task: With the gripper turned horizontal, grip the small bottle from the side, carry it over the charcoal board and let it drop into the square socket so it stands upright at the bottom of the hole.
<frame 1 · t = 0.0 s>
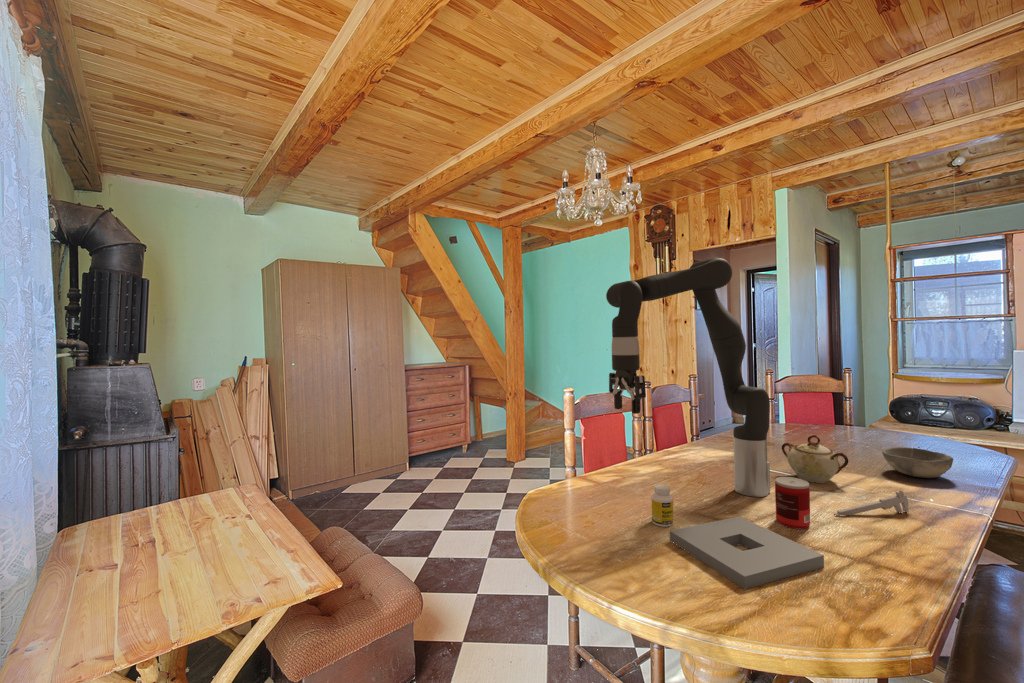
hand: (626, 411, 122), 29 cm above the table, tool pointing down, fingers open, 8 cm apart
bowl: (916, 476, 149), on the table
caliper: (870, 515, 119), on the table
sugar bowl: (813, 479, 148), on the table
supplement bottle: (662, 524, 117), on the table
canned food: (792, 523, 115), on the table
socket board: (741, 553, 100), on the table
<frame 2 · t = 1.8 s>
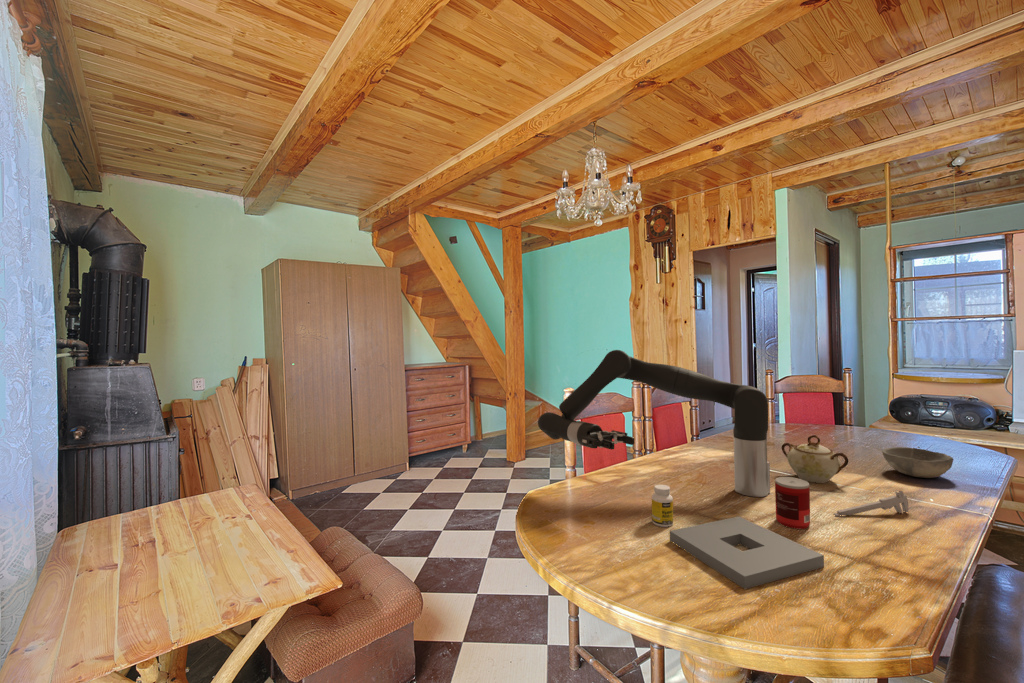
hand: (623, 443, 127), 19 cm above the table, tool horizontal, fingers open, 8 cm apart
nothing on the table moved.
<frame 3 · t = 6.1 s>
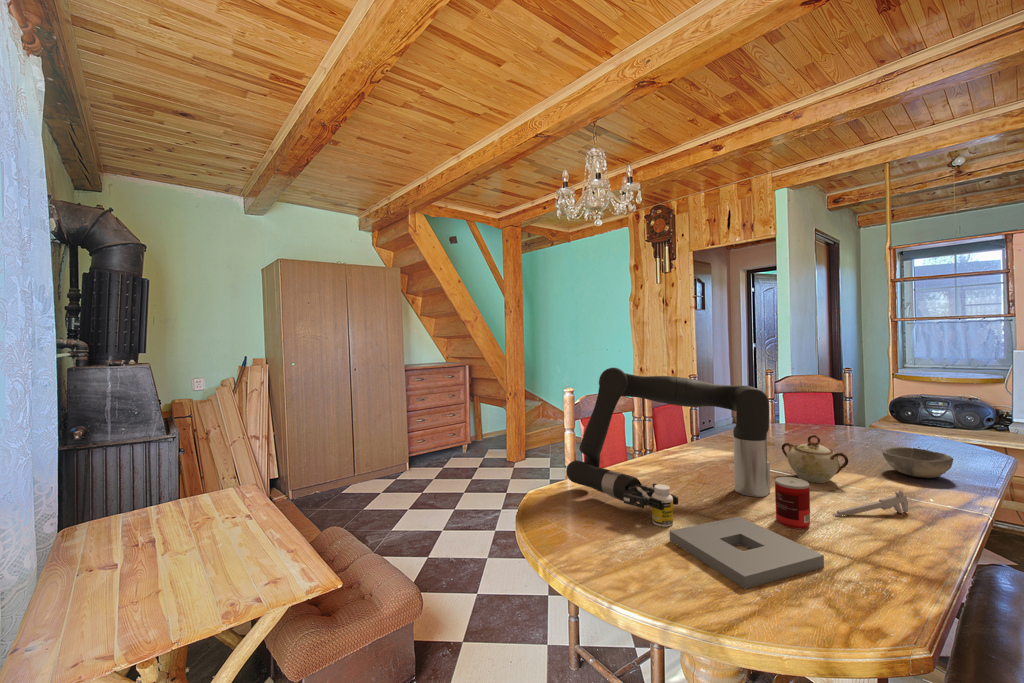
hand: (670, 503, 115), 6 cm above the table, tool horizontal, fingers closed on supplement bottle, 5 cm apart
supplement bottle: (662, 523, 117), on the table, touching gripper
everything else where it was.
when the fingers open (9 cm above the table, at t = 11.3 s): supplement bottle drops 3 cm, resting in socket board.
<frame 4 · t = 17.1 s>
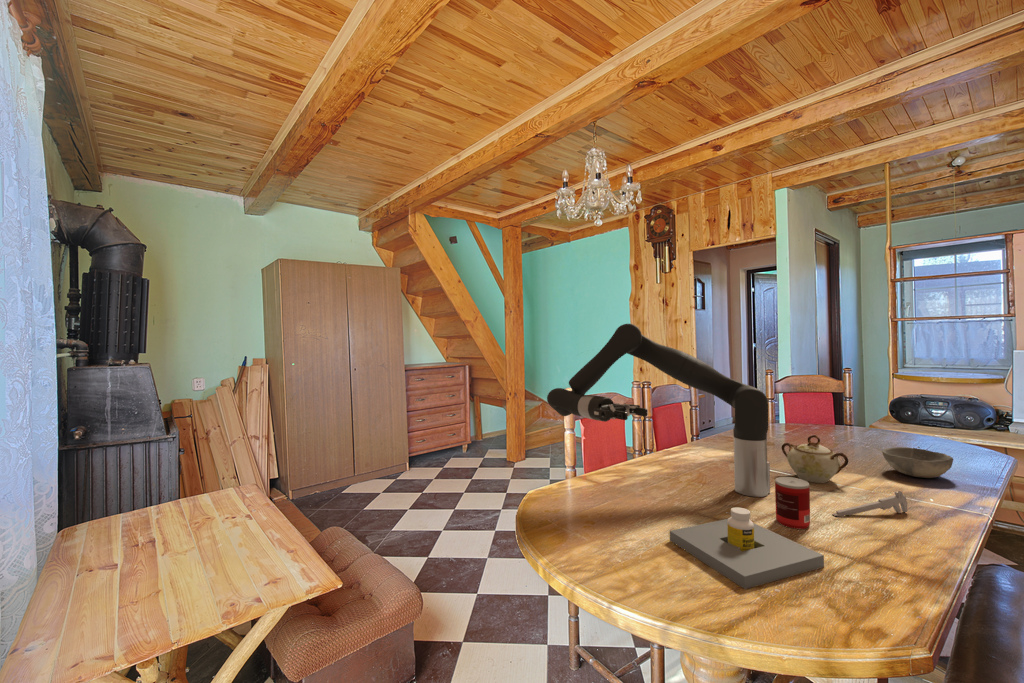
hand: (637, 414, 124), 28 cm above the table, tool horizontal, fingers open, 8 cm apart
supplement bottle: (741, 553, 100), resting in socket board
everything else where it was.
at the end: supplement bottle 0.1 cm off-centre on the socket board, point 0.0 cm above the socket board's base; supplement bottle tilted 0°; the gripper is holding nothing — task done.
